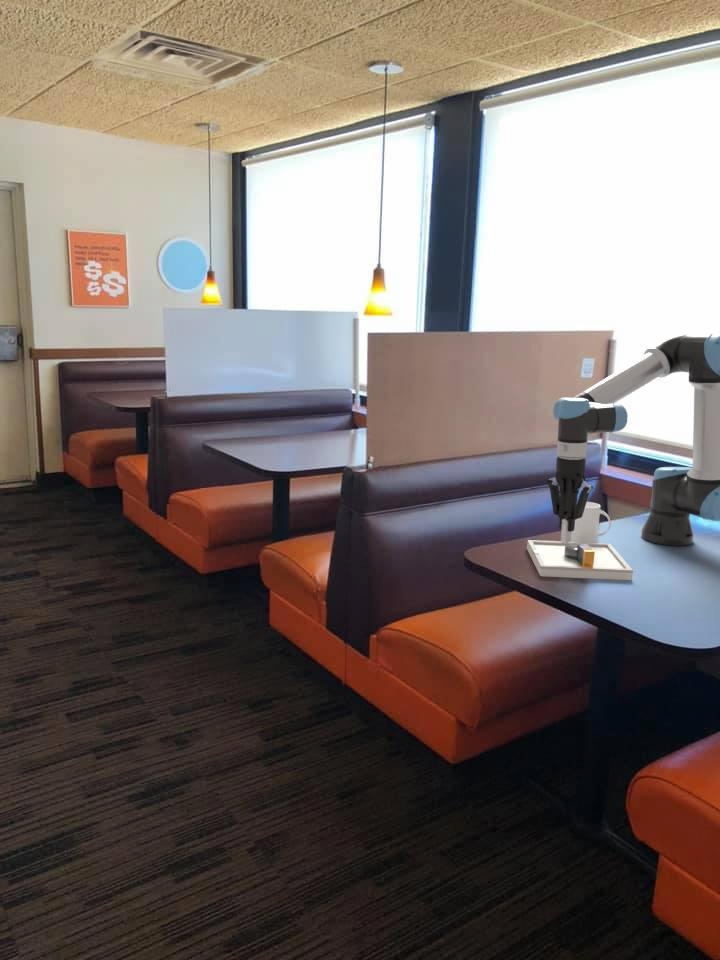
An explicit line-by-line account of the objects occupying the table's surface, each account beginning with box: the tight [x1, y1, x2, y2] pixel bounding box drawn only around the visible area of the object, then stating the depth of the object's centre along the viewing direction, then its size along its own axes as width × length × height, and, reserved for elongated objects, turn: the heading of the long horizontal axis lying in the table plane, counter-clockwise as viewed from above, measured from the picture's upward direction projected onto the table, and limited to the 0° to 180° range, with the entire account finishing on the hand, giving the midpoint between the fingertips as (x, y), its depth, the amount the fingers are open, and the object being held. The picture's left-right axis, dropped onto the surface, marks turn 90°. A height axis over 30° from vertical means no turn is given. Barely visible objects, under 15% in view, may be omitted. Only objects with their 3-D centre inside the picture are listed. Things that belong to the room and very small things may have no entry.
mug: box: [571, 501, 612, 543], centre depth 233 cm, size 12×8×12 cm
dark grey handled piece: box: [564, 544, 595, 567], centre depth 210 cm, size 14×7×4 cm, turn 1°
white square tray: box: [526, 539, 634, 581], centre depth 214 cm, size 24×24×3 cm
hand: (565, 541), depth 208 cm, fingers closed
